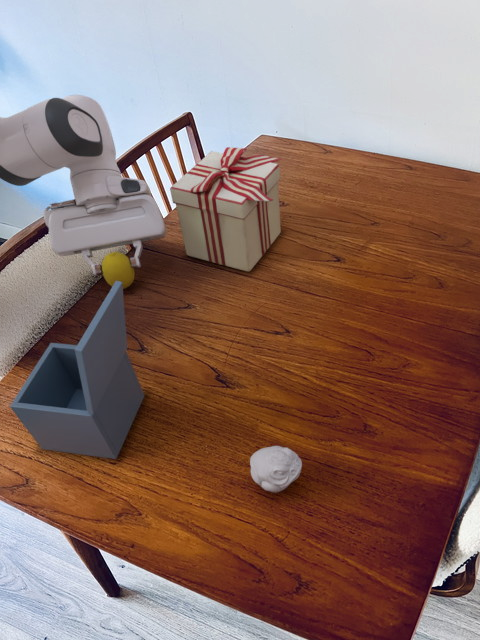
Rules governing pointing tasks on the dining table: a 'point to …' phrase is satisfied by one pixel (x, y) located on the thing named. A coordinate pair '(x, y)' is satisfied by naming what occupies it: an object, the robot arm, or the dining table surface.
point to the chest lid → (102, 347)
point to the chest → (76, 406)
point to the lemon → (117, 269)
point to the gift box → (229, 208)
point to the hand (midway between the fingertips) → (118, 271)
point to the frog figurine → (275, 468)
